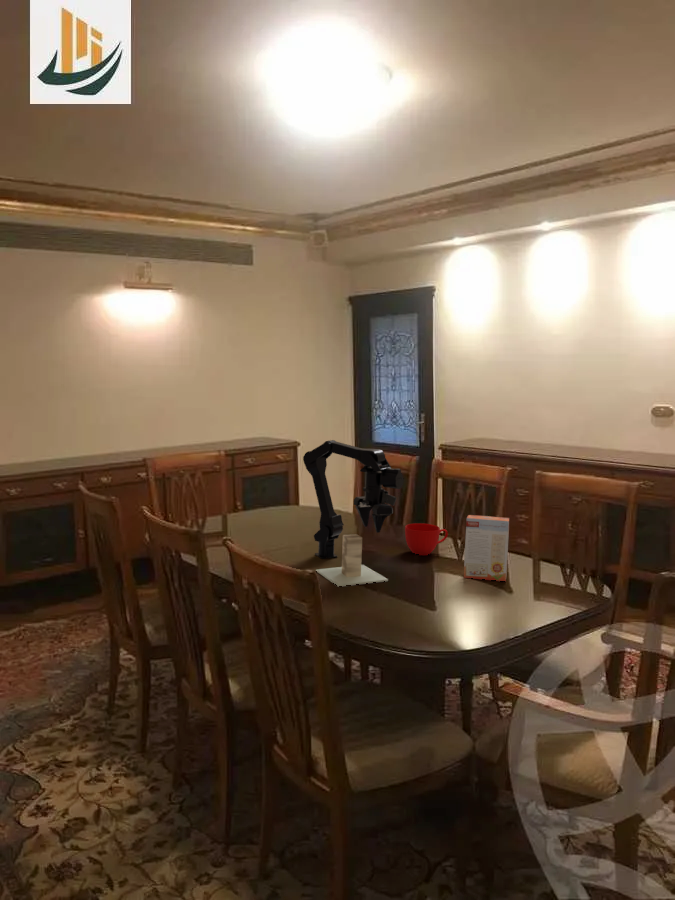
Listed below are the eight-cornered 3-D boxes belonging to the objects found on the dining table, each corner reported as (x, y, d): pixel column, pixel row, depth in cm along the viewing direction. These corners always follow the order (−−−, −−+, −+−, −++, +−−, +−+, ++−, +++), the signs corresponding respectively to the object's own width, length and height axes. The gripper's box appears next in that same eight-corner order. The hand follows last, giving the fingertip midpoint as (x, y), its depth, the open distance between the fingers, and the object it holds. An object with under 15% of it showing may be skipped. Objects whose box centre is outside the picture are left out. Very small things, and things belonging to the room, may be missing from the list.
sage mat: (315, 571, 248) (315, 569, 247) (362, 566, 255) (363, 564, 255) (338, 586, 231) (338, 585, 231) (387, 581, 239) (388, 579, 239)
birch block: (341, 572, 245) (342, 535, 243) (355, 571, 246) (356, 534, 245) (346, 577, 240) (348, 538, 238) (360, 575, 242) (362, 537, 240)
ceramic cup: (453, 556, 272) (455, 530, 270) (411, 558, 267) (413, 532, 266) (439, 547, 284) (440, 522, 283) (399, 549, 279) (400, 523, 278)
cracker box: (506, 577, 247) (510, 517, 244) (505, 582, 241) (509, 521, 238) (464, 573, 251) (468, 513, 248) (463, 578, 245) (466, 517, 242)
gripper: (407, 489, 248) (405, 533, 250) (381, 480, 265) (379, 522, 267) (378, 490, 243) (376, 536, 245) (353, 481, 260) (352, 524, 262)
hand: (371, 529), depth 255 cm, fingers open, 9 cm apart
